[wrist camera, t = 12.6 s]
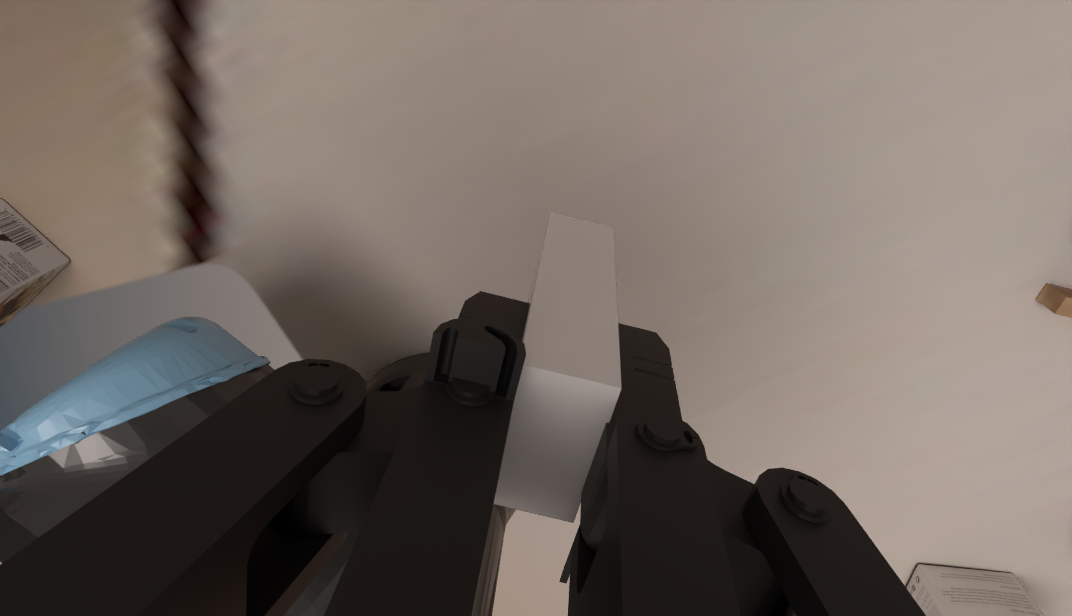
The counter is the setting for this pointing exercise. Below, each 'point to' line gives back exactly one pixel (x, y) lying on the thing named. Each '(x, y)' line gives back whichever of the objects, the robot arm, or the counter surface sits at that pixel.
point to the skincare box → (969, 592)
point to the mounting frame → (1056, 299)
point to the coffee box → (23, 262)
